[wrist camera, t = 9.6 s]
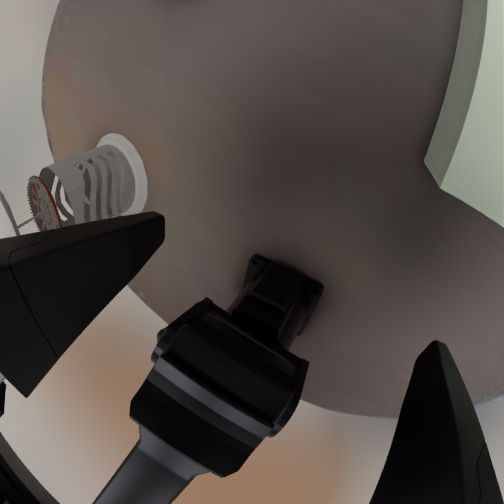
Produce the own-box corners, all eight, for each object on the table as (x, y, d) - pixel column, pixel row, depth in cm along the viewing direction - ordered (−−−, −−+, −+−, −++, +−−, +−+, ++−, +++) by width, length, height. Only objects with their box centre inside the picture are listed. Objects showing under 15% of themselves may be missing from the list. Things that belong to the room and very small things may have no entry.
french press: (141, 130, 22) (-115, 267, 3) (157, 239, 29) (-30, 395, 10) (88, 135, 26) (-99, 235, 7) (104, 224, 32) (-48, 336, 13)
